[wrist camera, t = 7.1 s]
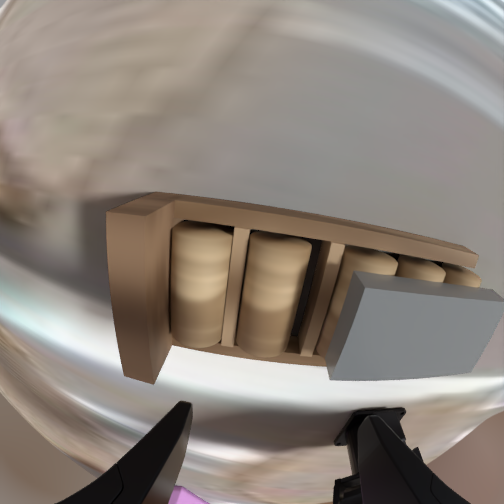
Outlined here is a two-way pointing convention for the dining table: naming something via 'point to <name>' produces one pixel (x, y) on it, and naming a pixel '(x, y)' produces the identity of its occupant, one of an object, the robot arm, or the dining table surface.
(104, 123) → the dining table surface
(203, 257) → the roller bed
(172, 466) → the robot arm
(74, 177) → the dining table surface
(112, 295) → the stop wall
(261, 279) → the roller
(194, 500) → the chair
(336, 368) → the slab
